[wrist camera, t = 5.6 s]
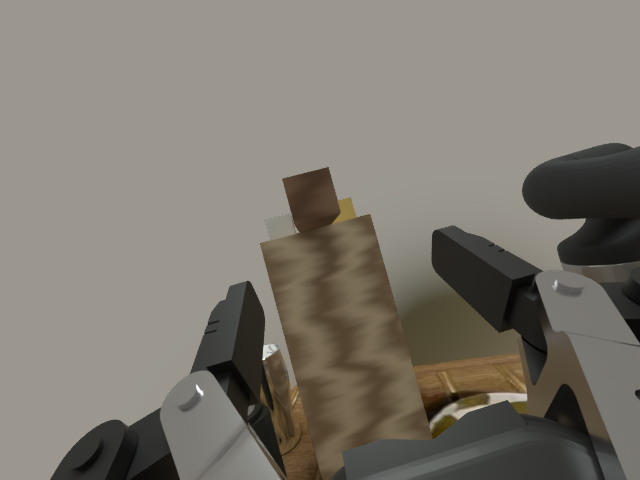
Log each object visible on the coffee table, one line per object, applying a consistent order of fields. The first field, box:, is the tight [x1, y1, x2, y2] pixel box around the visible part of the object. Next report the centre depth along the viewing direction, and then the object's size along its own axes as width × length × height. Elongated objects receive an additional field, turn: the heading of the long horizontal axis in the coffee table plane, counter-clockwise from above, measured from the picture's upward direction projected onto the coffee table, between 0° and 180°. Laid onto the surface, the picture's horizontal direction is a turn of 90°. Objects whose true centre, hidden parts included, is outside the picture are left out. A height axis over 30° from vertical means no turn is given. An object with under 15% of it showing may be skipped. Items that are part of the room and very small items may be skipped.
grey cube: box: [265, 214, 296, 240], centre depth 38 cm, size 4×4×4 cm
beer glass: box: [260, 343, 301, 455], centre depth 39 cm, size 7×7×15 cm
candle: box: [247, 400, 287, 477], centre depth 27 cm, size 5×5×25 cm
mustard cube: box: [332, 198, 356, 224], centre depth 38 cm, size 4×4×4 cm
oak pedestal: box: [260, 214, 433, 480], centre depth 35 cm, size 14×14×32 cm
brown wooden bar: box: [282, 167, 341, 232], centre depth 31 cm, size 4×23×4 cm, turn 3°
